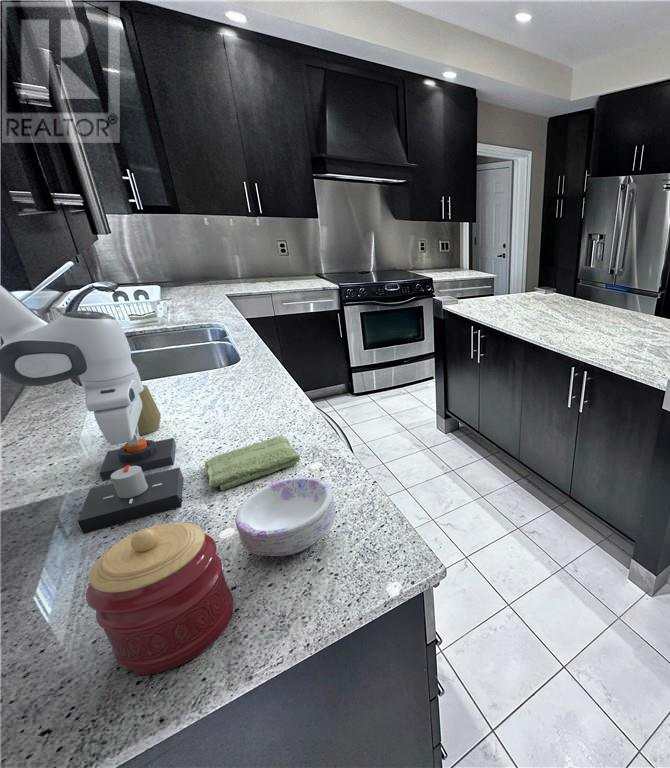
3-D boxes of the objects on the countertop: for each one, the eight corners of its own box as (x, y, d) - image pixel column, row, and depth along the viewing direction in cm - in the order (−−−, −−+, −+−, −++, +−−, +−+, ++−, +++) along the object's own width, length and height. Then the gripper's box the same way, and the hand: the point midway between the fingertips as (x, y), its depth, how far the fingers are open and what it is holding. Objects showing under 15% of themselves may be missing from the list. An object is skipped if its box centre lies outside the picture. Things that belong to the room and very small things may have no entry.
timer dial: (146, 493, 79) (138, 473, 77) (115, 501, 76) (107, 480, 75) (149, 482, 82) (142, 462, 80) (120, 488, 80) (112, 468, 78)
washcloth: (202, 467, 92) (199, 455, 91) (287, 442, 103) (284, 431, 102) (212, 495, 83) (208, 483, 82) (303, 465, 95) (301, 453, 93)
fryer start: (125, 455, 90) (123, 448, 89) (128, 448, 92) (125, 441, 92) (147, 451, 92) (144, 444, 91) (148, 444, 94) (146, 437, 94)
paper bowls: (231, 578, 65) (219, 540, 62) (259, 515, 79) (250, 481, 76) (332, 561, 69) (326, 524, 66) (342, 504, 83) (337, 471, 80)
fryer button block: (102, 481, 86) (96, 465, 85) (110, 459, 94) (104, 444, 92) (173, 464, 93) (168, 449, 91) (176, 445, 100) (171, 431, 99)
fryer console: (83, 534, 72) (76, 520, 71) (95, 500, 81) (89, 487, 79) (181, 506, 80) (176, 493, 79) (183, 478, 88) (179, 466, 87)
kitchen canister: (235, 644, 55) (203, 546, 49) (108, 699, 49) (49, 593, 42) (234, 577, 65) (207, 487, 59) (128, 615, 59) (84, 518, 52)
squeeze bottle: (163, 433, 105) (141, 368, 98) (121, 441, 101) (96, 374, 94) (166, 420, 111) (146, 359, 105) (127, 427, 107) (103, 364, 100)
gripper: (103, 373, 92) (122, 427, 97) (83, 407, 77) (107, 468, 82) (139, 369, 96) (156, 420, 101) (127, 400, 80) (148, 459, 86)
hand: (134, 442), depth 91 cm, fingers closed, pressing on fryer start
